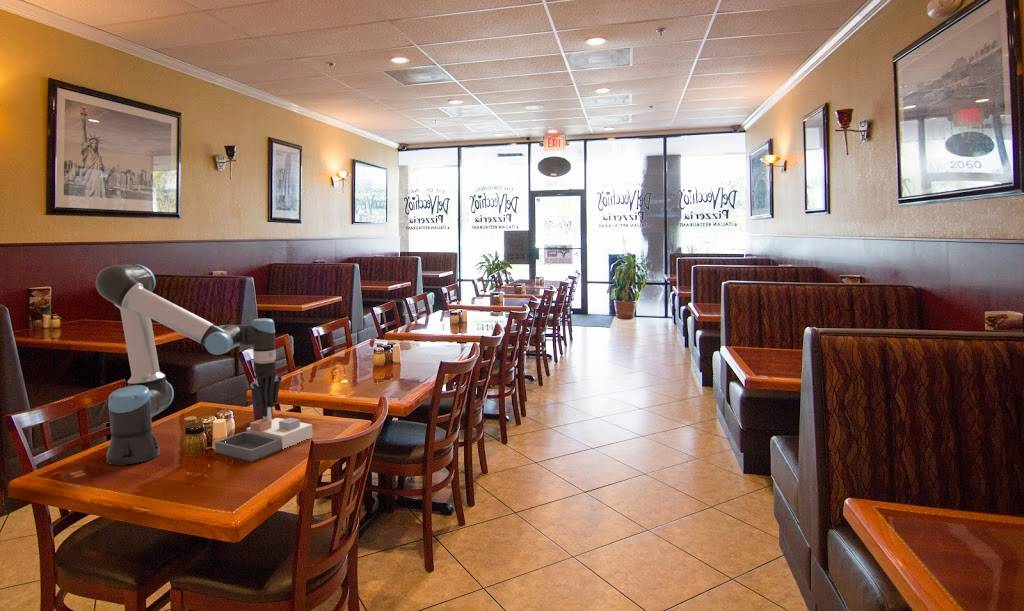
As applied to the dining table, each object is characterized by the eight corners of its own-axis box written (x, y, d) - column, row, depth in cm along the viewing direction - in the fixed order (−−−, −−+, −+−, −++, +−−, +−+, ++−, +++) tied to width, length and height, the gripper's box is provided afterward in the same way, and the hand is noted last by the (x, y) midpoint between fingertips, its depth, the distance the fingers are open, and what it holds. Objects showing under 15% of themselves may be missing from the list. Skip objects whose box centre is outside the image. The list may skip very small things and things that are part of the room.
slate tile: (279, 428, 213) (279, 421, 213) (290, 424, 218) (289, 417, 218) (289, 430, 211) (289, 423, 211) (299, 426, 216) (299, 419, 215)
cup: (252, 418, 240) (250, 383, 238) (270, 416, 243) (268, 381, 241) (252, 423, 234) (250, 387, 232) (270, 421, 237) (269, 385, 235)
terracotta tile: (250, 429, 211) (250, 422, 211) (261, 425, 216) (261, 419, 216) (260, 431, 209) (260, 424, 209) (271, 427, 214) (271, 421, 214)
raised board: (247, 441, 214) (246, 428, 213) (277, 430, 226) (277, 417, 226) (282, 449, 206) (282, 435, 205) (312, 437, 218) (312, 424, 218)
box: (215, 453, 202) (214, 442, 202) (244, 442, 213) (244, 431, 212) (251, 462, 194) (251, 450, 194) (280, 450, 205) (280, 439, 204)
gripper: (257, 365, 205) (260, 430, 208) (286, 358, 217) (288, 420, 220) (242, 363, 209) (245, 427, 211) (271, 357, 220) (274, 417, 223)
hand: (267, 424), depth 216 cm, fingers closed
